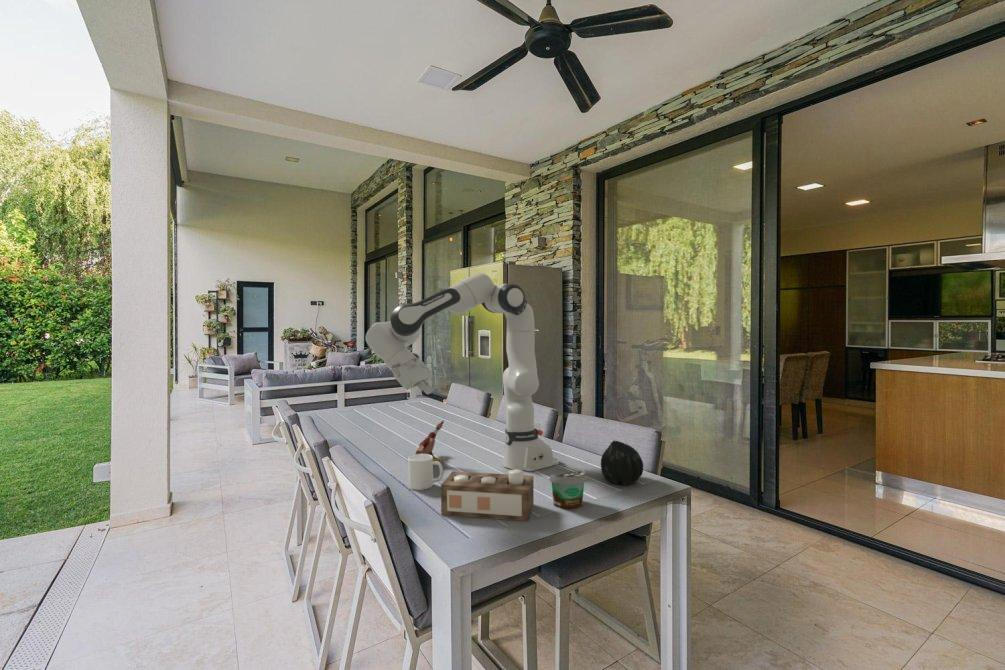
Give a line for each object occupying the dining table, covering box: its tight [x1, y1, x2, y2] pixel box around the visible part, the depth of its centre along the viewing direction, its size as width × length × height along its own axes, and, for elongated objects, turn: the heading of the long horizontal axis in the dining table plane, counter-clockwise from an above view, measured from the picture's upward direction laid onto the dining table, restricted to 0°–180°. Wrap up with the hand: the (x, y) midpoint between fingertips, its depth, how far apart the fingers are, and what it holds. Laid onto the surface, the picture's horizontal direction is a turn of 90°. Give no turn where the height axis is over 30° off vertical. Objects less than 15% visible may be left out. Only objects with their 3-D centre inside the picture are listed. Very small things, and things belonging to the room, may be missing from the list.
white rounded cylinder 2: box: [508, 469, 525, 485], centre depth 137 cm, size 4×4×5 cm
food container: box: [548, 468, 587, 510], centre depth 141 cm, size 12×6×10 cm, turn 114°
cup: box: [407, 453, 444, 491], centre depth 159 cm, size 8×12×10 cm
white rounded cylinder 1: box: [481, 477, 496, 484], centre depth 139 cm, size 4×4×5 cm
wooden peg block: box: [440, 470, 535, 522], centre depth 139 cm, size 26×12×9 cm, turn 80°
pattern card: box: [447, 490, 522, 516], centre depth 133 cm, size 22×1×6 cm, turn 80°
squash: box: [600, 440, 644, 486], centre depth 163 cm, size 14×15×15 cm
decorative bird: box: [414, 420, 445, 464], centre depth 184 cm, size 28×18×15 cm, turn 179°
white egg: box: [454, 475, 468, 482], centre depth 141 cm, size 4×4×5 cm
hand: (430, 392), depth 153 cm, fingers closed
